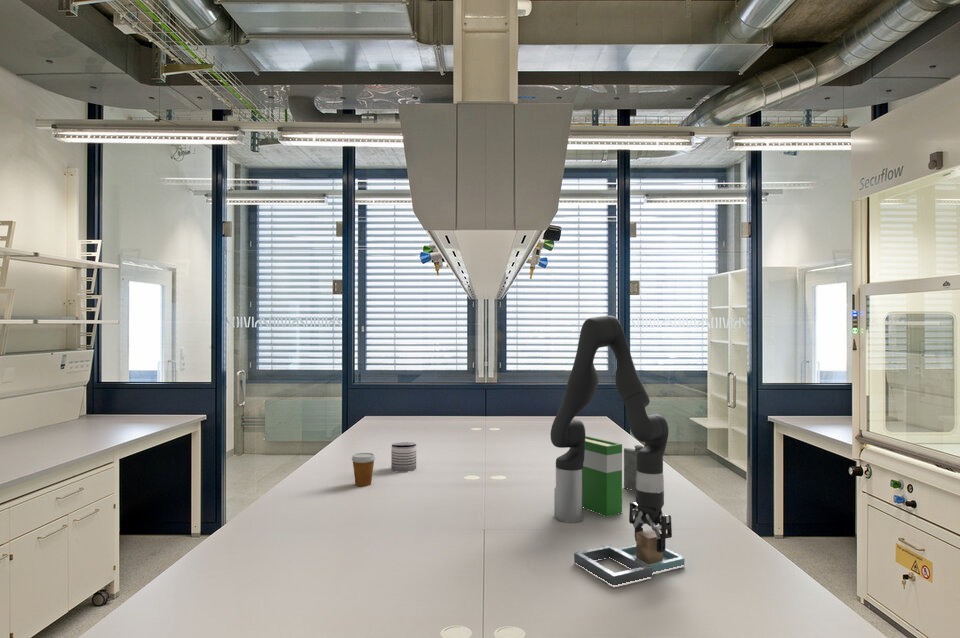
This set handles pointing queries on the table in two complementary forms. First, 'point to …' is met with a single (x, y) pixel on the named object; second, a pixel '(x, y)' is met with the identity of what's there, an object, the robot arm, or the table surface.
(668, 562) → the tray
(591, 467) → the hardback book
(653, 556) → the walnut block
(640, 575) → the holder
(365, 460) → the disposable coffee cup
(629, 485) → the flask
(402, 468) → the can
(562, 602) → the table surface
